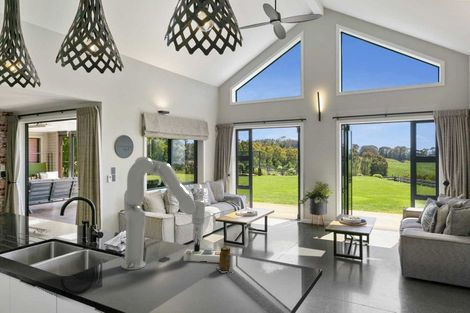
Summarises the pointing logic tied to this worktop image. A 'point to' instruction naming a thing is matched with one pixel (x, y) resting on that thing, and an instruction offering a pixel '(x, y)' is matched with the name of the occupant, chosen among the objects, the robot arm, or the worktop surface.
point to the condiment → (224, 259)
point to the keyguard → (201, 256)
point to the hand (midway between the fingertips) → (196, 250)
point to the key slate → (208, 251)
